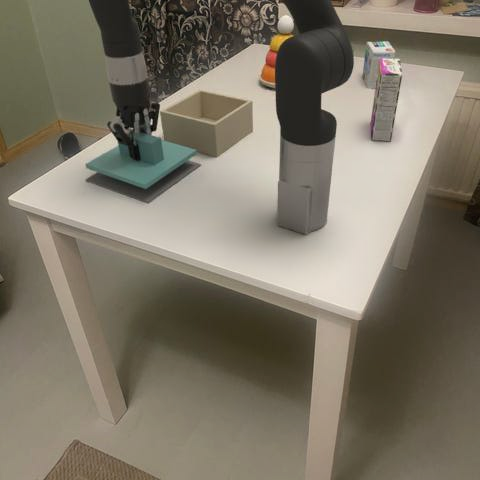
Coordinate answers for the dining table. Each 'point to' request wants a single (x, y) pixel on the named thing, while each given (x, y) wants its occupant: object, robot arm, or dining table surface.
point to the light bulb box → (375, 60)
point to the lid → (142, 161)
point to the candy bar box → (385, 99)
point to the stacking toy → (276, 50)
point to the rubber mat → (142, 193)
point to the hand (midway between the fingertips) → (141, 155)
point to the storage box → (207, 122)
